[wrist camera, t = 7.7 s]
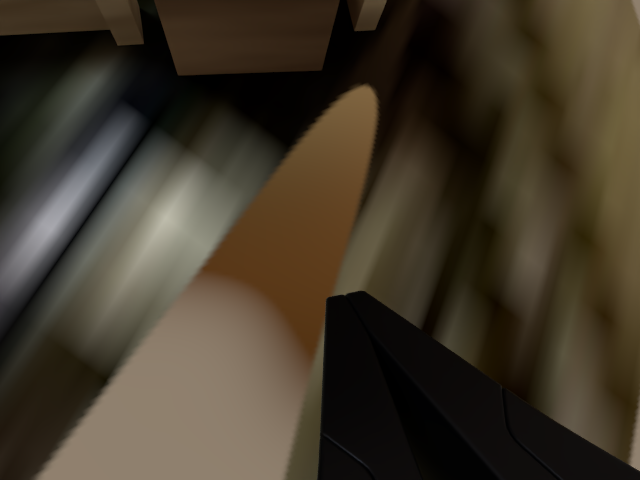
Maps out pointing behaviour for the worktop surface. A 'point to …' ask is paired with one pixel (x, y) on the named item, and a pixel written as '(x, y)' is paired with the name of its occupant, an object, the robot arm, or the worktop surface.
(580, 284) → the worktop surface
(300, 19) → the walnut block
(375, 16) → the rail channel
